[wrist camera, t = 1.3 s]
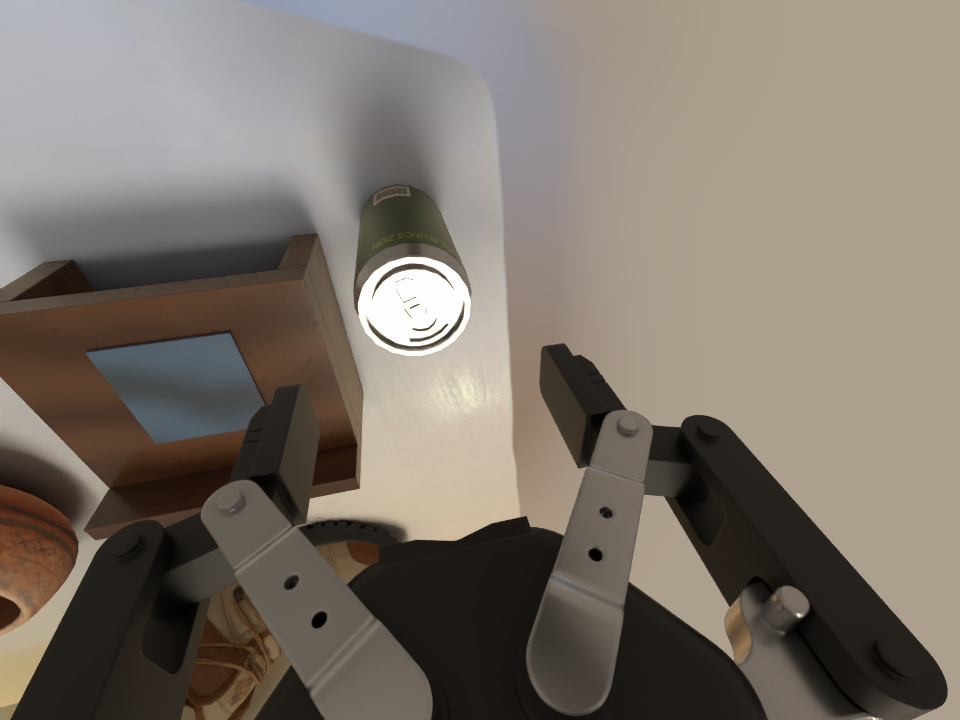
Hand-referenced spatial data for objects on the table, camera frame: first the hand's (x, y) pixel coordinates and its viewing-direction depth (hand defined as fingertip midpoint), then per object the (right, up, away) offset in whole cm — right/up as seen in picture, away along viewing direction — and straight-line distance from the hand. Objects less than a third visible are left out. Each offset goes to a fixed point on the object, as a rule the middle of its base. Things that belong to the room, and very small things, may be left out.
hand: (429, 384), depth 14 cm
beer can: (-4, +10, +14) cm, 17 cm away
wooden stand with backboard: (-17, +2, +16) cm, 23 cm away
